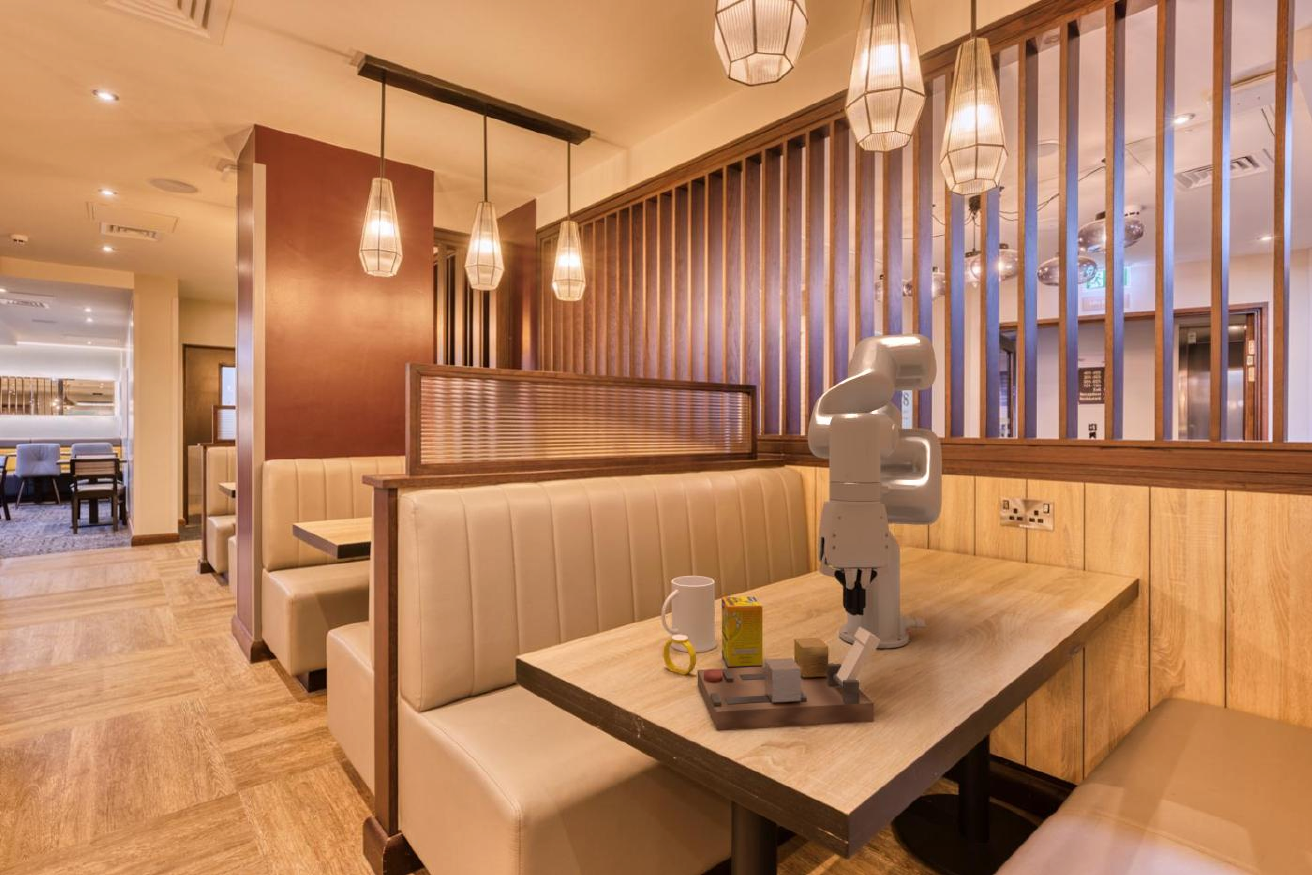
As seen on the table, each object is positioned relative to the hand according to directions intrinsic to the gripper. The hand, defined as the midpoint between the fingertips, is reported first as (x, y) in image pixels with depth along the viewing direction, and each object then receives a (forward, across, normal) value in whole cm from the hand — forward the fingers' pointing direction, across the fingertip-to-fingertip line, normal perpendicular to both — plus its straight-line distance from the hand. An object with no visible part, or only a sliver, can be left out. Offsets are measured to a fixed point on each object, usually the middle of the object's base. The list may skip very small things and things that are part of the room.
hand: (854, 612), depth 100 cm
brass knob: (+9, +7, -1) cm, 11 cm away
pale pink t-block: (+8, +4, +7) cm, 12 cm away
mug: (+12, +22, -23) cm, 34 cm away
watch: (+12, +25, -11) cm, 30 cm away
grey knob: (+9, +13, +7) cm, 18 cm away
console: (+12, +12, +3) cm, 18 cm away
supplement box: (+12, +14, -13) cm, 23 cm away
